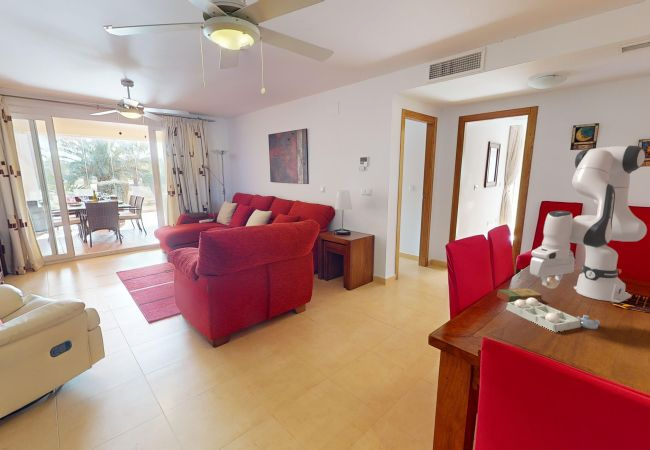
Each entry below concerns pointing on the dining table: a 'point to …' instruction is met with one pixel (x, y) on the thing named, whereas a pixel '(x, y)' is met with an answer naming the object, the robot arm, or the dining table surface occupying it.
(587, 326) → the egg cup
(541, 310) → the tray
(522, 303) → the egg
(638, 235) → the robot arm
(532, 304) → the egg
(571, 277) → the dining table surface
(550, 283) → the egg
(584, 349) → the dining table surface
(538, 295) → the carton
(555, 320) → the egg
